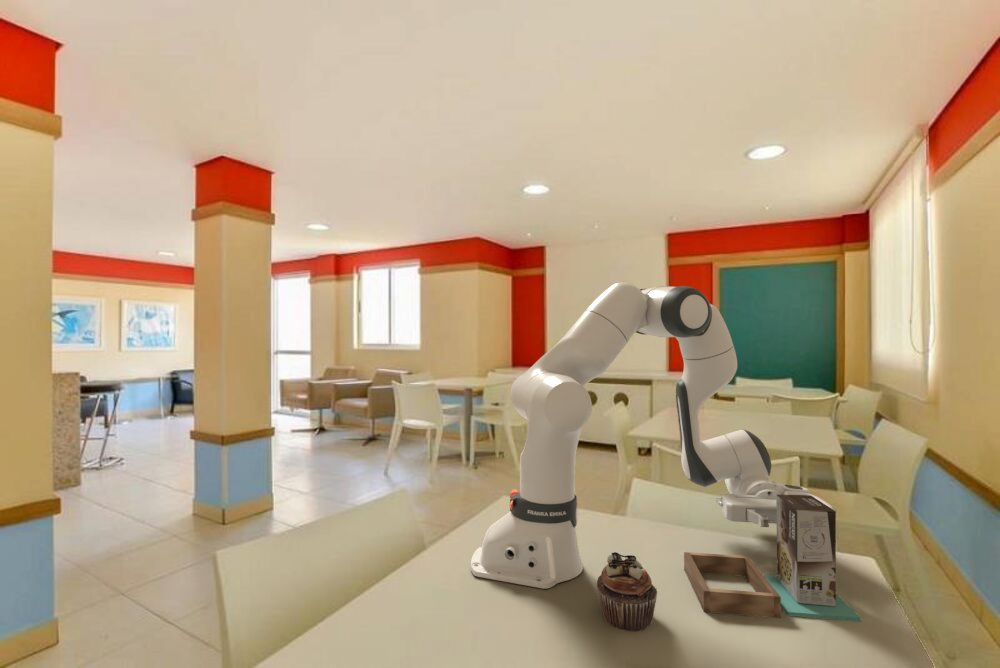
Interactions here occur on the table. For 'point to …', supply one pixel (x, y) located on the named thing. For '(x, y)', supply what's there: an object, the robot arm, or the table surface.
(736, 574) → the walnut bin
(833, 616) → the teal mat
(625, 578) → the cupcake
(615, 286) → the robot arm
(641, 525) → the table surface
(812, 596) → the coffee box
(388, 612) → the table surface
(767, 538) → the table surface
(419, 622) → the table surface
